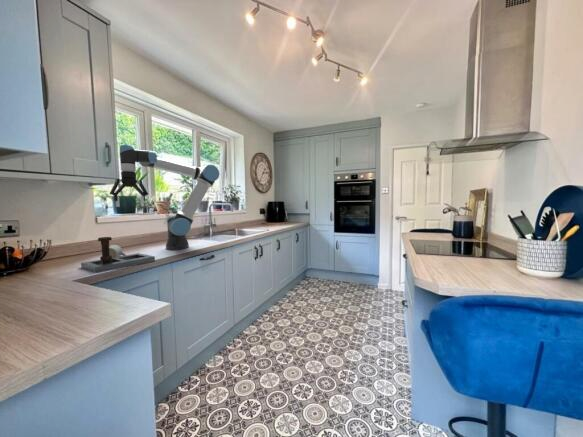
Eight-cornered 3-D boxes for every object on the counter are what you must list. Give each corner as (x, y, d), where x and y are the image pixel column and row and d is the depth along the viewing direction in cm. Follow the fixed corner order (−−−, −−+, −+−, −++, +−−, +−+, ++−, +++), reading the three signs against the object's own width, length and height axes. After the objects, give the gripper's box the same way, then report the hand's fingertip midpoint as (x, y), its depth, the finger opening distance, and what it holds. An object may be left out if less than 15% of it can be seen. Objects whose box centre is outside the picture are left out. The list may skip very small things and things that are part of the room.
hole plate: (138, 257, 145) (138, 253, 145) (154, 260, 135) (154, 256, 135) (81, 267, 123) (80, 262, 123) (95, 272, 113) (95, 267, 112)
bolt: (105, 268, 121) (103, 238, 120) (97, 267, 122) (95, 238, 121) (115, 265, 126) (114, 236, 126) (107, 264, 127) (106, 236, 127)
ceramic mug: (101, 260, 139) (101, 247, 139) (108, 257, 147) (107, 244, 146) (122, 259, 142) (122, 246, 141) (128, 256, 150) (127, 244, 149)
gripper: (146, 173, 159) (148, 206, 161) (101, 169, 139) (103, 207, 140) (152, 172, 155) (154, 205, 156) (106, 168, 134) (109, 206, 136)
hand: (130, 206), depth 148 cm, fingers open, 13 cm apart
